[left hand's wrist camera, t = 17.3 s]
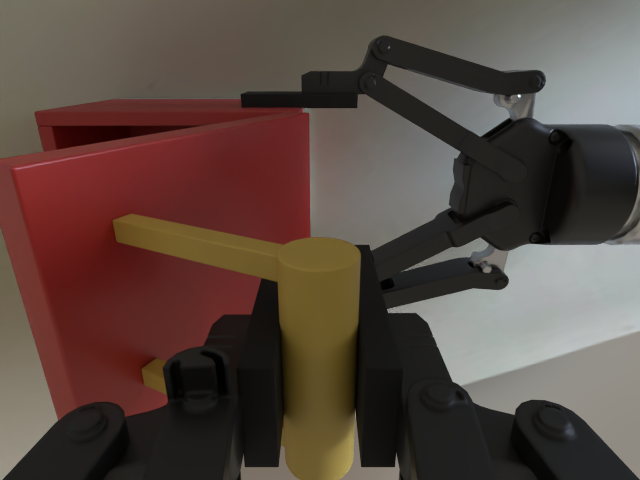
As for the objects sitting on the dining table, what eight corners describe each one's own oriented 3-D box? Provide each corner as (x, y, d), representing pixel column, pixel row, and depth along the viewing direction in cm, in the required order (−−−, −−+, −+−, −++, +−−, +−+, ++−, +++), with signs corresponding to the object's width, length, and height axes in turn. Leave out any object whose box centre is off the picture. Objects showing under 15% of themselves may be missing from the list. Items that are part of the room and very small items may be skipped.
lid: (69, 463, 14) (305, 607, 10) (-21, 161, 10) (296, 214, 6) (292, 282, 25) (440, 318, 22) (287, 111, 22) (464, 120, 18)
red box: (140, 222, 35) (74, 281, 26) (119, 98, 32) (33, 111, 22) (305, 221, 35) (302, 279, 26) (304, 97, 32) (299, 110, 22)
